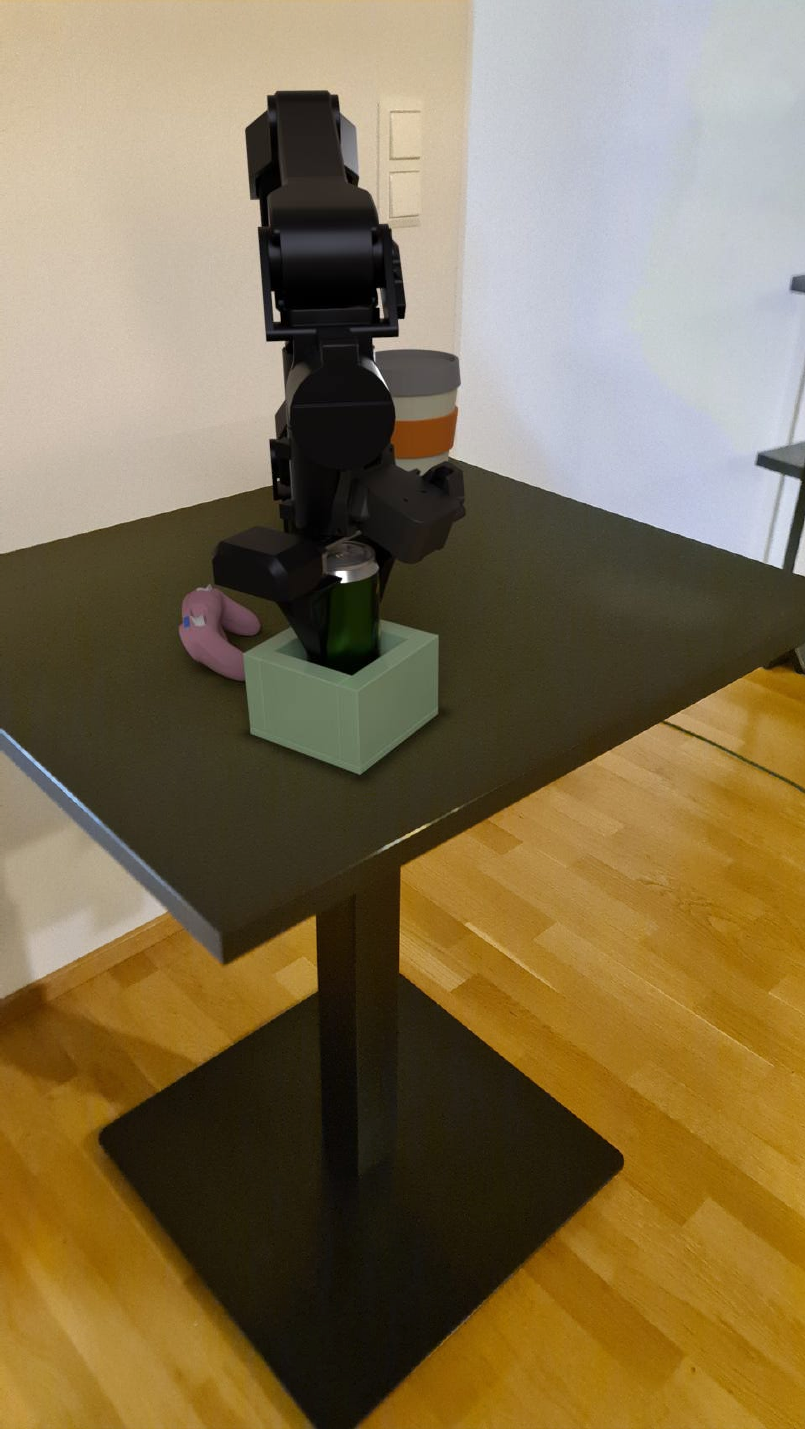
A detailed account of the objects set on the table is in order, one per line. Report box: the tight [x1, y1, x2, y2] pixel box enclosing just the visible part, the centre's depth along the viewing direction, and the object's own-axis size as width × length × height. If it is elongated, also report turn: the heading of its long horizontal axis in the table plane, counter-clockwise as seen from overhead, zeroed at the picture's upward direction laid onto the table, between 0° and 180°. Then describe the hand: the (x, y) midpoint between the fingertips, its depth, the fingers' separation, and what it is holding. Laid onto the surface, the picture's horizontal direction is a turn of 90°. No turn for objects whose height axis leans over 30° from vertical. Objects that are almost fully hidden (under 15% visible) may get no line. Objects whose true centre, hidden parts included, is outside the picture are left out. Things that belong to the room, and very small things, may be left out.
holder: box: [243, 618, 440, 776], centre depth 74 cm, size 10×10×7 cm
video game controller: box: [178, 583, 261, 682], centre depth 84 cm, size 10×5×7 cm, turn 5°
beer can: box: [306, 541, 381, 676], centre depth 72 cm, size 5×5×12 cm
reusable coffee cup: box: [375, 348, 462, 476], centre depth 122 cm, size 12×13×15 cm
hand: (341, 643), depth 73 cm, fingers closed on beer can, 5 cm apart
